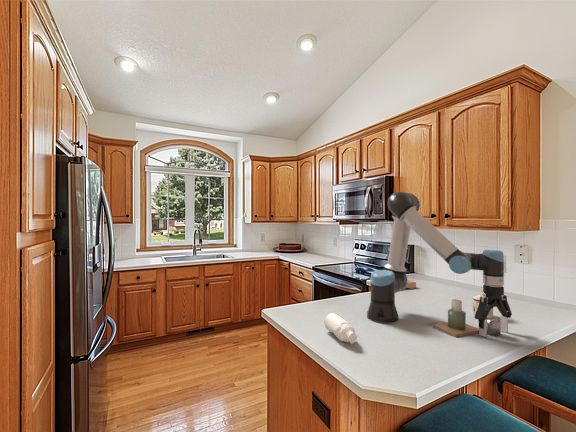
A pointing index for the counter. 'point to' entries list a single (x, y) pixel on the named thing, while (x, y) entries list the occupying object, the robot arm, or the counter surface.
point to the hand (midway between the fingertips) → (493, 333)
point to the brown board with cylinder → (456, 322)
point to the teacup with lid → (476, 302)
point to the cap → (493, 327)
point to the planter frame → (410, 284)
